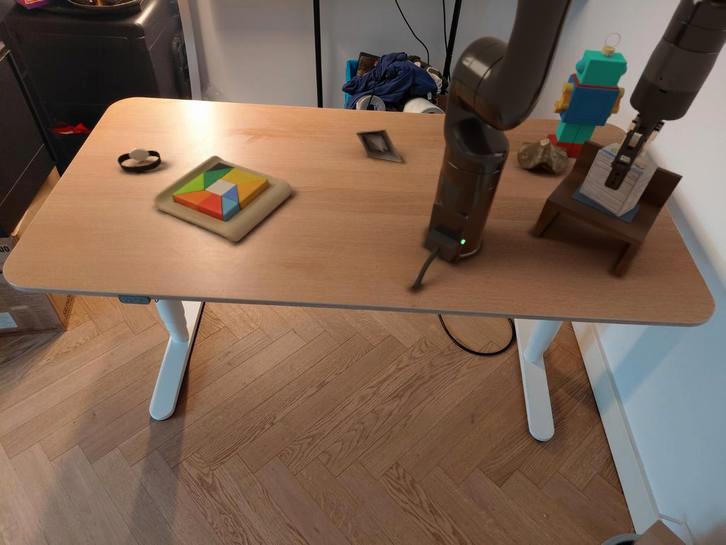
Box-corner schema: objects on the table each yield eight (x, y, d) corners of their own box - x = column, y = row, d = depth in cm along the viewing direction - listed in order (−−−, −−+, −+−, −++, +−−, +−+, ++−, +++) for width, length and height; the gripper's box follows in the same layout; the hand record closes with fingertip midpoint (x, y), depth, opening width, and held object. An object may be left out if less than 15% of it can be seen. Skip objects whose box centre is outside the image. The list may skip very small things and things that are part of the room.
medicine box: (633, 209, 79) (660, 165, 72) (617, 218, 77) (643, 174, 71) (594, 184, 83) (615, 140, 77) (578, 192, 81) (599, 148, 75)
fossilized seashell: (573, 153, 100) (525, 145, 104) (574, 135, 94) (524, 128, 98) (561, 184, 99) (514, 175, 103) (562, 169, 93) (512, 159, 97)
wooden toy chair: (620, 276, 79) (662, 212, 69) (532, 233, 86) (559, 168, 75) (641, 239, 86) (683, 175, 76) (558, 202, 92) (586, 138, 82)
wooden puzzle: (218, 161, 96) (215, 146, 94) (294, 192, 90) (293, 177, 88) (152, 207, 86) (146, 191, 83) (234, 246, 80) (230, 231, 77)
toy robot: (589, 145, 107) (642, 28, 89) (595, 160, 103) (652, 41, 85) (537, 140, 107) (580, 23, 89) (542, 155, 103) (587, 36, 85)
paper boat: (403, 139, 103) (416, 152, 95) (387, 164, 105) (399, 179, 98) (358, 111, 98) (367, 122, 90) (342, 138, 100) (350, 151, 92)
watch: (162, 157, 96) (157, 141, 94) (163, 170, 93) (158, 154, 91) (121, 162, 94) (115, 147, 92) (121, 176, 91) (114, 160, 89)
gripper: (659, 52, 70) (611, 148, 81) (629, 84, 62) (580, 186, 74) (714, 68, 67) (655, 165, 78) (689, 104, 59) (629, 206, 71)
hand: (619, 175), depth 76 cm, fingers open, 8 cm apart
